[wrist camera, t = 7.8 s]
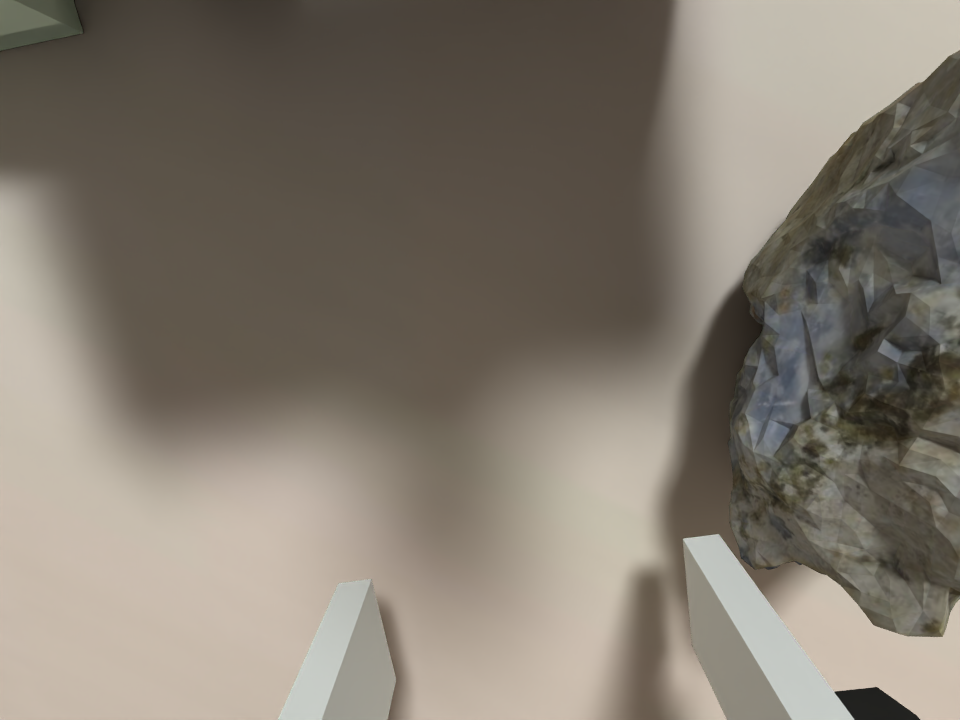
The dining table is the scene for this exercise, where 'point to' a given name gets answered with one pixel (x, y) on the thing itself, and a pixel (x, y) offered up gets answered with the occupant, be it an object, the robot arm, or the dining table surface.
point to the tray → (36, 21)
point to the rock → (862, 371)
